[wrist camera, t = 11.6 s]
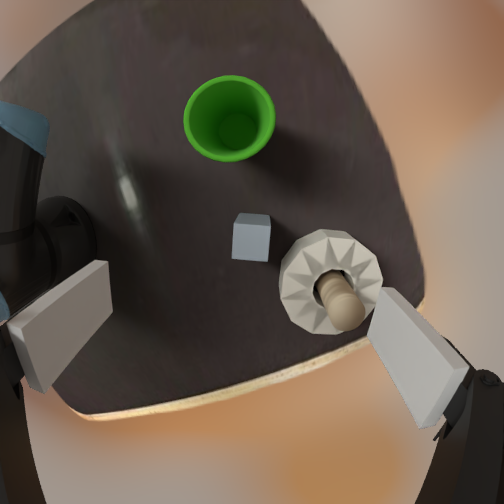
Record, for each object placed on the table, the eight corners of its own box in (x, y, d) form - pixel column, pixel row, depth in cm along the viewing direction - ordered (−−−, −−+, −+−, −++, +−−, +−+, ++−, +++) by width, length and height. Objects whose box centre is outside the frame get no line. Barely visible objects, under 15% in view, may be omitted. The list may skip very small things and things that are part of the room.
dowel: (311, 288, 42) (327, 330, 30) (315, 262, 41) (334, 297, 29) (337, 289, 42) (360, 331, 30) (341, 264, 41) (369, 299, 29)
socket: (275, 314, 43) (276, 331, 38) (284, 225, 39) (288, 233, 34) (359, 318, 43) (368, 334, 38) (376, 234, 39) (390, 243, 34)
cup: (280, 154, 37) (287, 148, 26) (214, 172, 38) (195, 173, 27) (262, 92, 34) (261, 65, 24) (197, 111, 35) (173, 91, 25)
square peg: (237, 241, 40) (231, 258, 33) (239, 212, 39) (233, 223, 31) (266, 243, 40) (267, 261, 32) (269, 215, 39) (270, 226, 31)
